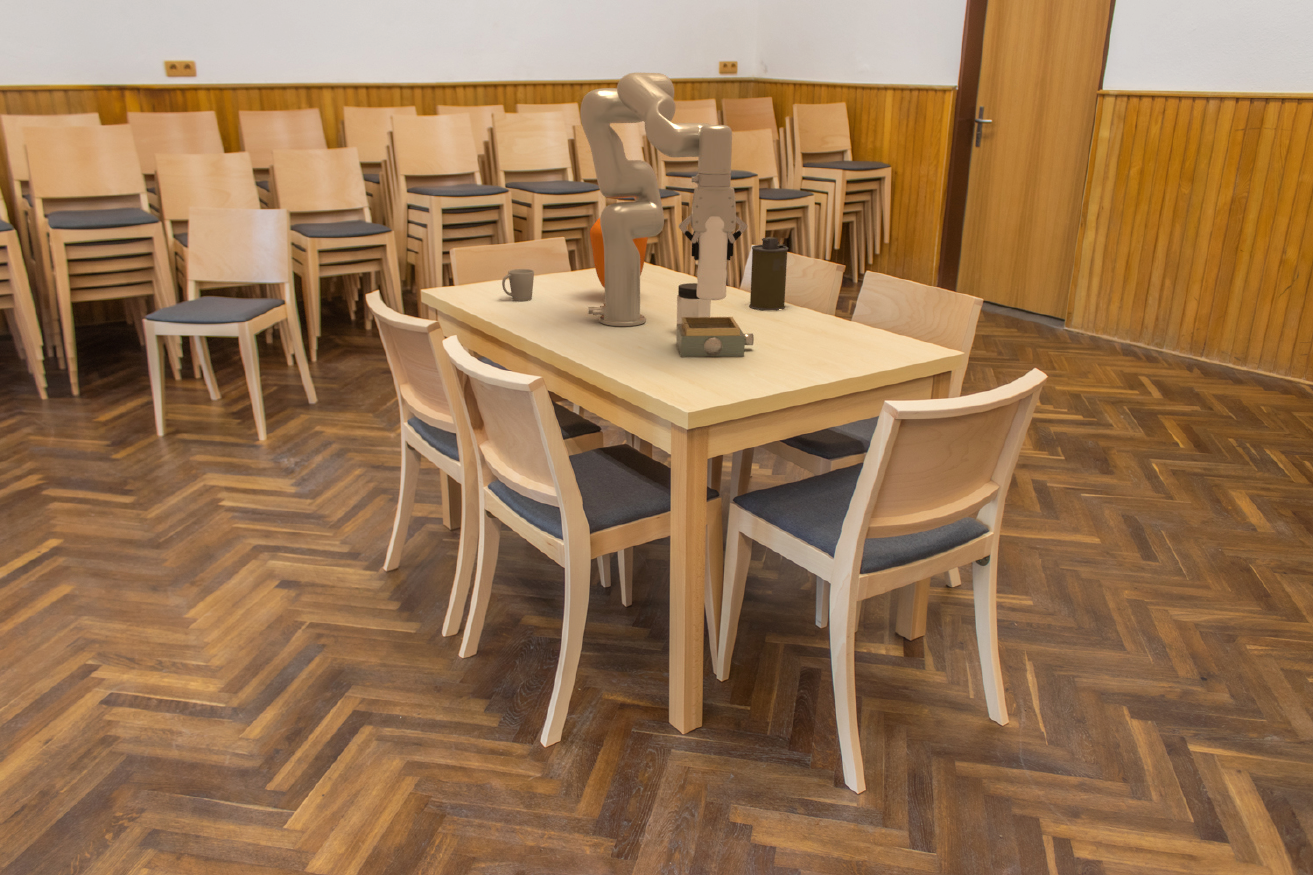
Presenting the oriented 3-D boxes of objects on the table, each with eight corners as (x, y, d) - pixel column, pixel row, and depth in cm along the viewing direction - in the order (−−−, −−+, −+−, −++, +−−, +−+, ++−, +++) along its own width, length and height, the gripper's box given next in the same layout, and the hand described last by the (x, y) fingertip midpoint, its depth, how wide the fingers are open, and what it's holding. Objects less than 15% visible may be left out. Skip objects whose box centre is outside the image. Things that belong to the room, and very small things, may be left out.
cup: (539, 300, 289) (538, 271, 286) (509, 304, 284) (508, 275, 281) (527, 296, 295) (526, 268, 292) (497, 299, 290) (496, 271, 287)
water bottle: (723, 301, 227) (727, 192, 219) (694, 300, 228) (696, 191, 220) (727, 295, 234) (731, 189, 225) (698, 294, 235) (701, 188, 227)
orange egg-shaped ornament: (658, 300, 290) (659, 215, 282) (609, 307, 281) (609, 219, 273) (627, 291, 304) (627, 209, 295) (580, 297, 295) (578, 213, 286)
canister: (768, 312, 276) (771, 241, 269) (741, 306, 283) (744, 237, 277) (793, 307, 283) (797, 238, 276) (767, 301, 290) (770, 234, 283)
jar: (672, 333, 251) (672, 287, 247) (680, 327, 258) (681, 282, 254) (705, 336, 248) (706, 290, 244) (713, 329, 256) (714, 284, 252)
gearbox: (681, 357, 228) (681, 329, 226) (676, 343, 241) (676, 317, 239) (757, 356, 230) (758, 329, 227) (748, 342, 242) (749, 316, 240)
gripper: (677, 183, 218) (676, 262, 224) (754, 183, 219) (751, 262, 225) (675, 180, 225) (673, 257, 231) (749, 180, 226) (746, 257, 232)
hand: (712, 259), depth 228 cm, fingers closed on water bottle, 7 cm apart
